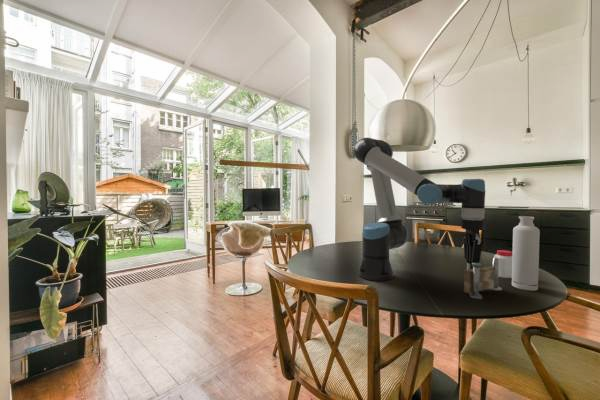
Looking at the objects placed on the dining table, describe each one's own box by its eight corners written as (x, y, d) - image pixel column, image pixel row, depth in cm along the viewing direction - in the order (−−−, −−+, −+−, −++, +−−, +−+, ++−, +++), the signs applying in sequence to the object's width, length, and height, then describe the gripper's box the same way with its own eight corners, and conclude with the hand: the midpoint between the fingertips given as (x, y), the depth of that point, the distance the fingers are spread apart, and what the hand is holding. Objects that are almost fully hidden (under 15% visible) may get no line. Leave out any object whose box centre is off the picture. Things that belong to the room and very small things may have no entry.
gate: (489, 285, 106) (489, 265, 106) (495, 287, 104) (495, 267, 104) (463, 291, 100) (463, 269, 100) (469, 293, 98) (469, 271, 98)
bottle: (538, 292, 102) (541, 218, 101) (511, 287, 107) (513, 217, 106) (536, 286, 108) (539, 216, 107) (511, 281, 113) (513, 215, 112)
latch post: (470, 297, 97) (471, 263, 97) (469, 294, 100) (469, 261, 100) (482, 299, 95) (483, 264, 95) (480, 295, 99) (481, 262, 98)
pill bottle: (507, 273, 125) (508, 249, 125) (519, 278, 118) (519, 253, 117) (489, 272, 126) (490, 249, 126) (500, 278, 119) (500, 253, 118)
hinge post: (489, 289, 104) (489, 259, 104) (487, 286, 108) (487, 256, 108) (503, 291, 102) (503, 260, 102) (500, 287, 106) (501, 257, 106)
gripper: (491, 221, 97) (490, 285, 98) (476, 217, 110) (474, 274, 111) (468, 220, 99) (467, 284, 100) (455, 217, 111) (454, 273, 112)
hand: (471, 279), depth 105 cm, fingers closed
